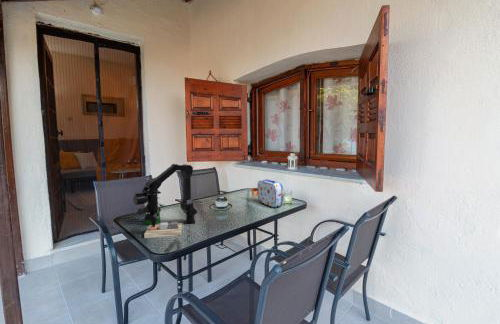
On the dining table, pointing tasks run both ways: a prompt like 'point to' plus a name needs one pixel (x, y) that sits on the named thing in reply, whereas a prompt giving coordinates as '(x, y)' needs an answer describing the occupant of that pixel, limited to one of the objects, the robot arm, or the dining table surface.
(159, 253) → the dining table surface
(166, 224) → the key grey
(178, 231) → the keypad board
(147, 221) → the milk carton
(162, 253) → the dining table surface
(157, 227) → the key terracotta
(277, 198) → the lunch box
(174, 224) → the key charcoal
